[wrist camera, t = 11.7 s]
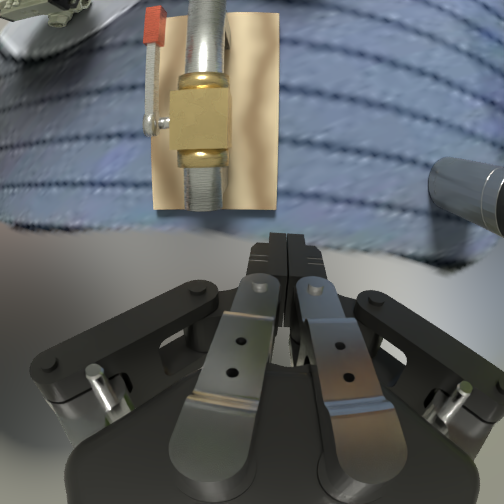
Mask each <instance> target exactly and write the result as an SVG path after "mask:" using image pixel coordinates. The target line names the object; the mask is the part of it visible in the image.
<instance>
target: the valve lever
mask: <svg viewBox="0 0 504 504" xmlns="http://www.w3.org/2000/svg"><path fill="white" fill-rule="evenodd" d="M166 16H167V12H166V11H165V10H164V8H163V7H162V6H161V5H160V6H154V7H148V8H146V15H145V26H144V38H143V44H145V45H146V46H147V56H146V80H145V114H144V117H143V131H144V134H145V136H146V137H154V136H158V135H159V133H160V129H159V126H158V121H159V118H160V115H159V67H160V47H164V44H165V29H166Z"/></svg>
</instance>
